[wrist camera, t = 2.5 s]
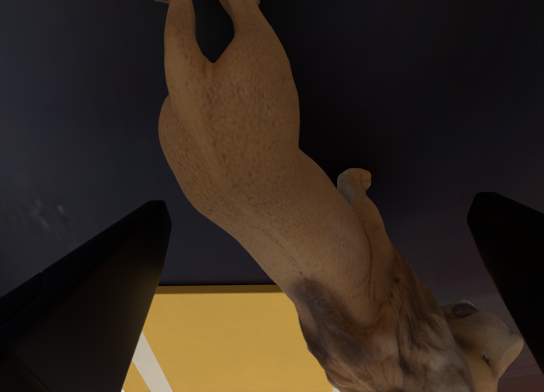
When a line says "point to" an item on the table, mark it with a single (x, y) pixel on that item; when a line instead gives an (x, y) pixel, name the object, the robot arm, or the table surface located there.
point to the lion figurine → (311, 221)
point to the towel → (223, 343)
